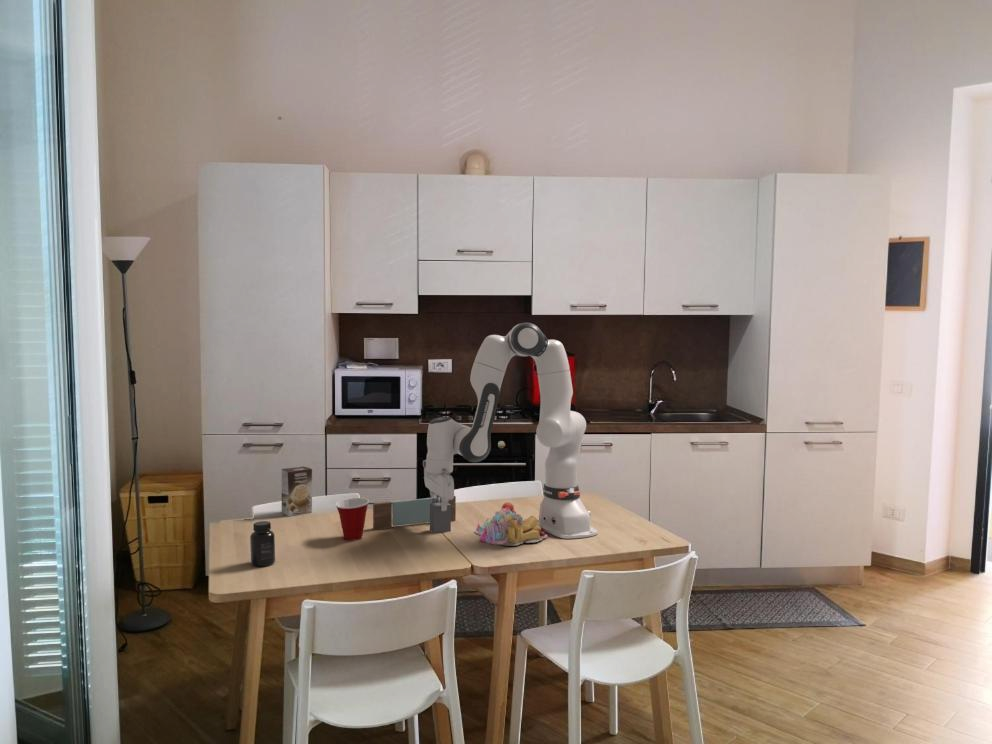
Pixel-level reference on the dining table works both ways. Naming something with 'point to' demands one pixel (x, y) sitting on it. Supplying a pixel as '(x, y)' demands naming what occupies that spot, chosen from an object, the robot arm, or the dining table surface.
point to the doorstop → (440, 518)
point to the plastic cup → (352, 517)
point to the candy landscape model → (510, 528)
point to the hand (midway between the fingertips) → (438, 506)
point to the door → (411, 511)
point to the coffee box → (296, 491)
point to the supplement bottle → (262, 544)
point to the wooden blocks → (384, 514)
